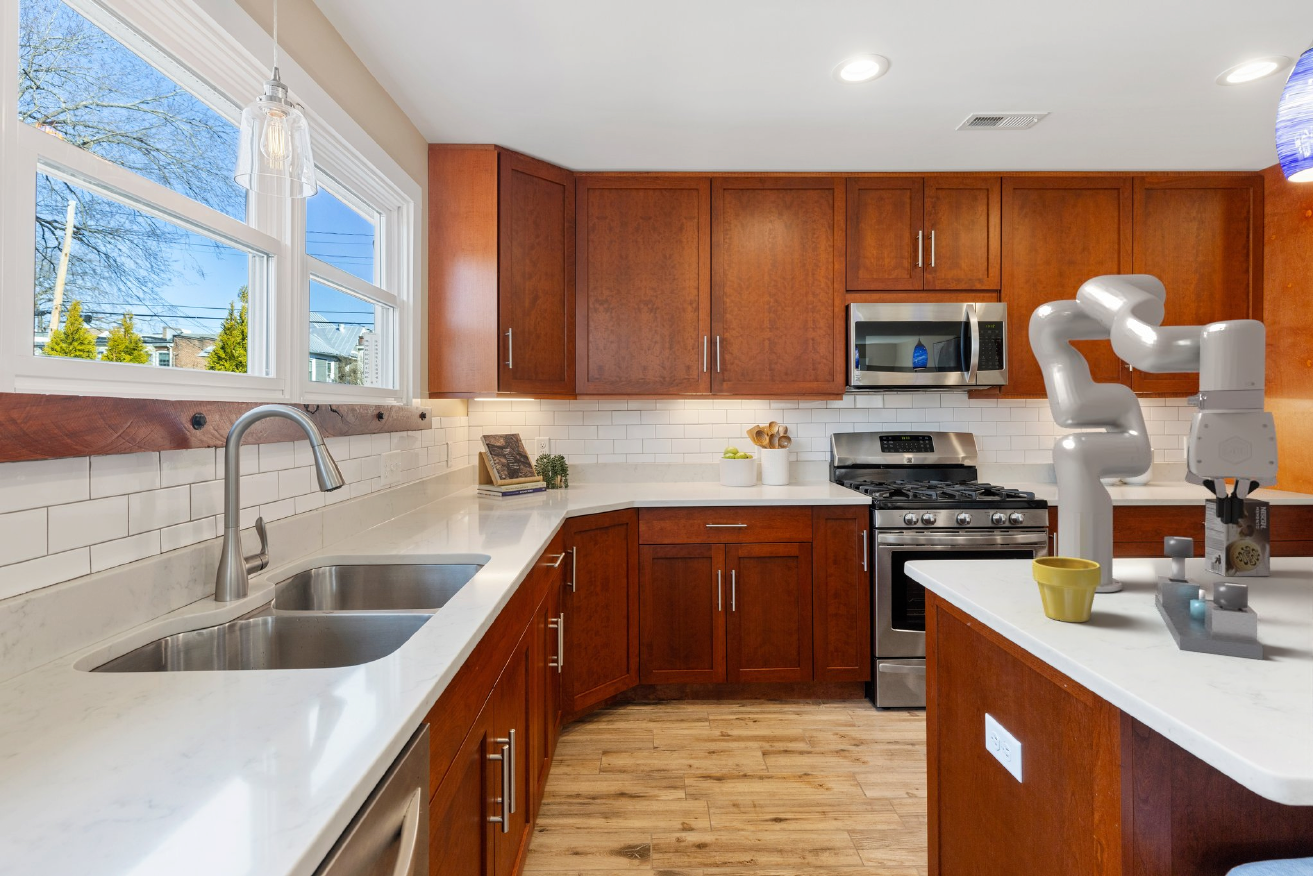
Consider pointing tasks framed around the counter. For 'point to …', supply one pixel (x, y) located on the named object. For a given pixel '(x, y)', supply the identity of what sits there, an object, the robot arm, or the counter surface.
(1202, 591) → the potentiometer
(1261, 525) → the coffee box
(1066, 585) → the plant pot
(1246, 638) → the mount
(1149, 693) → the counter surface
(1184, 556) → the knob far
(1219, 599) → the knob near
